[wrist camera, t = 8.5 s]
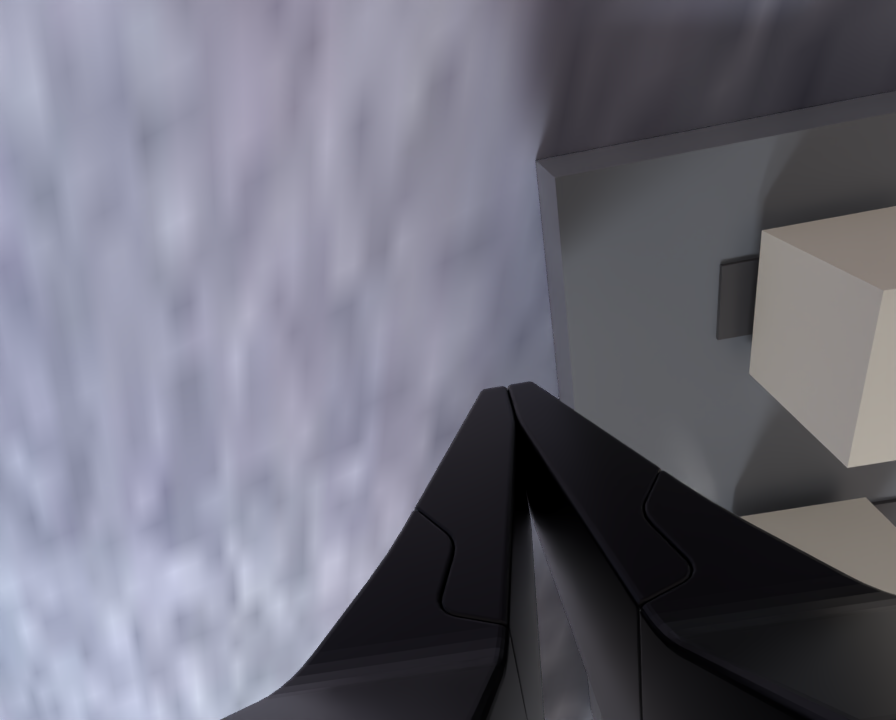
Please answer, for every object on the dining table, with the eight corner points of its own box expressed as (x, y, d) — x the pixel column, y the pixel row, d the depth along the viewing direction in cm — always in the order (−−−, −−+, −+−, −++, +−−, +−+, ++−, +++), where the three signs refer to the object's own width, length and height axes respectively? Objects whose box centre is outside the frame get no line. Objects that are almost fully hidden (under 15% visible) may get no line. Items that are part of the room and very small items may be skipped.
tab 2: (729, 600, 15) (796, 719, 12) (736, 517, 13) (813, 630, 11) (845, 583, 14) (939, 700, 12) (865, 497, 13) (976, 607, 10)
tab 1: (749, 373, 11) (847, 468, 9) (761, 230, 10) (883, 291, 7) (900, 348, 11) (1047, 436, 8) (935, 198, 10) (1123, 248, 7)
